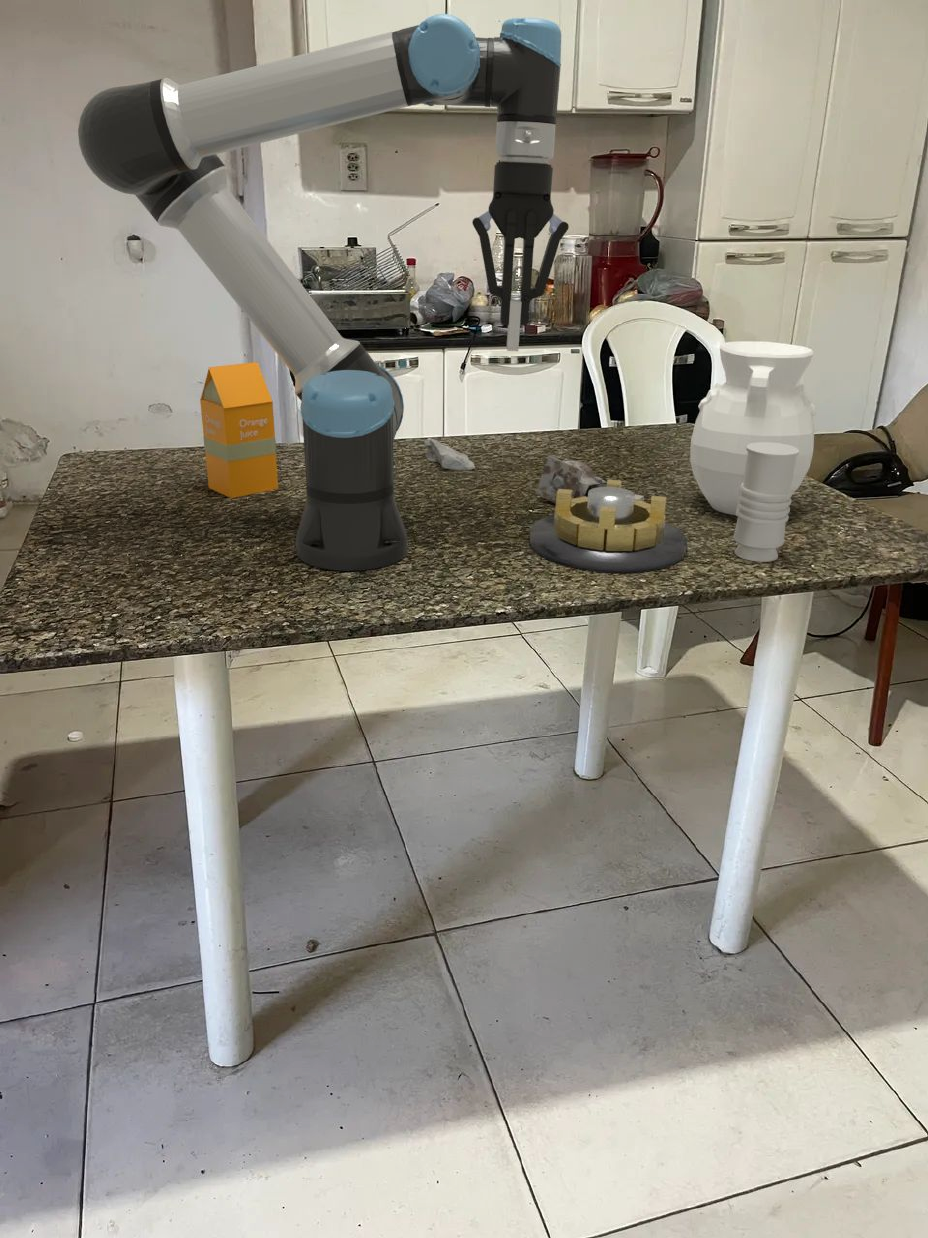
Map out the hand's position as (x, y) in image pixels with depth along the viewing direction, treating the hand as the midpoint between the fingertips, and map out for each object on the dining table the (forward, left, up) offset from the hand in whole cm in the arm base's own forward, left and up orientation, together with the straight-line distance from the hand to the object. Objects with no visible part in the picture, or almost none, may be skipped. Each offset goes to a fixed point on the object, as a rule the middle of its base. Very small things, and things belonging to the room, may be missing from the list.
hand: (512, 349), depth 132 cm
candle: (+33, -15, -26) cm, 44 cm away
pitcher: (+39, +6, -26) cm, 47 cm away
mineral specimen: (-6, +34, -26) cm, 43 cm away
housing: (+13, -10, -26) cm, 30 cm away
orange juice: (-41, +20, -26) cm, 52 cm away
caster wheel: (+14, +10, -26) cm, 31 cm away
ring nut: (+13, -10, -24) cm, 29 cm away
